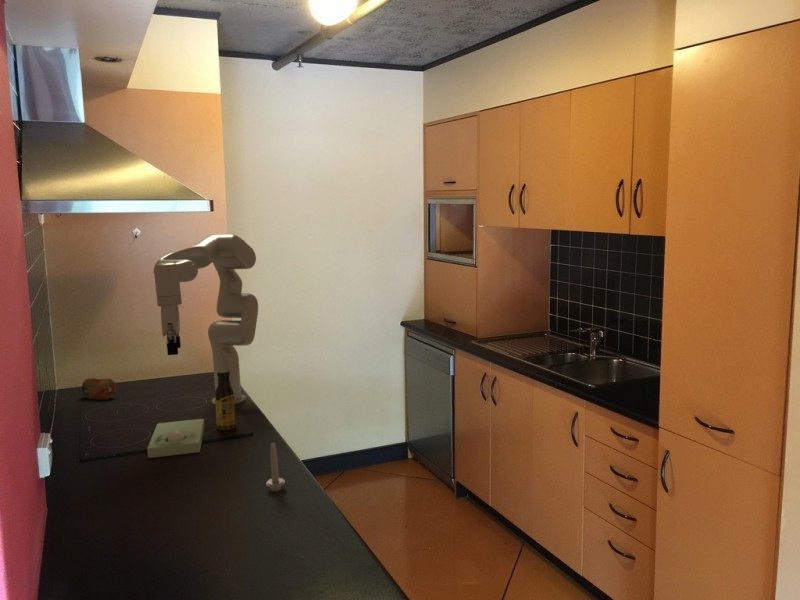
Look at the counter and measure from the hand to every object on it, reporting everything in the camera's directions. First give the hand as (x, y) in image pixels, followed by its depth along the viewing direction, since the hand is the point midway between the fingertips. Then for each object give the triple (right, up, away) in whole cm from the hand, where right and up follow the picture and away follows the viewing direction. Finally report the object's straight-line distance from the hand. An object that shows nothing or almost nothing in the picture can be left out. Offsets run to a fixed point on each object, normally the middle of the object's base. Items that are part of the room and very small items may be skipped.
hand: (174, 351), depth 216 cm
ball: (+5, -27, -11) cm, 29 cm away
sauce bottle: (+16, -27, +5) cm, 32 cm away
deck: (+3, -29, -6) cm, 29 cm away
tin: (-46, -23, +48) cm, 70 cm away
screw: (+42, -33, -45) cm, 70 cm away
